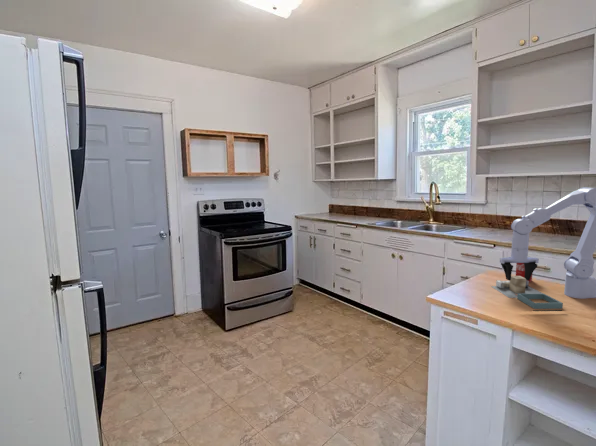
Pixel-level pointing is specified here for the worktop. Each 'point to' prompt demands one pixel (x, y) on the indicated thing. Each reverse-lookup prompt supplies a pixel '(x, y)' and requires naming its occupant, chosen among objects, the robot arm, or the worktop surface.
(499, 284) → the crank lever
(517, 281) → the block
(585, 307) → the worktop surface
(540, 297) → the tray
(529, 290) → the crank board
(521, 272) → the beverage can
